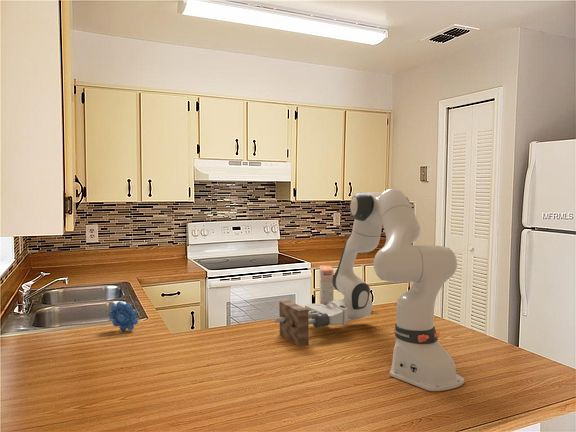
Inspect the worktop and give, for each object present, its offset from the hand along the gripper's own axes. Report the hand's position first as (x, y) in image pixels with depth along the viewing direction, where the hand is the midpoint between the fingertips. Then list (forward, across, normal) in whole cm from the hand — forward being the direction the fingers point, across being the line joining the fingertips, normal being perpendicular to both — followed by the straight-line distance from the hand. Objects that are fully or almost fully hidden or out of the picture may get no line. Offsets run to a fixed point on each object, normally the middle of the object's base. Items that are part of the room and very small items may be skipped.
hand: (305, 315), depth 184 cm
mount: (+8, +4, +7) cm, 11 cm away
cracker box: (-24, -23, +7) cm, 34 cm away
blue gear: (+64, -38, +7) cm, 74 cm away
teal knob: (+7, 0, +2) cm, 7 cm away
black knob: (+2, +8, +2) cm, 9 cm away
